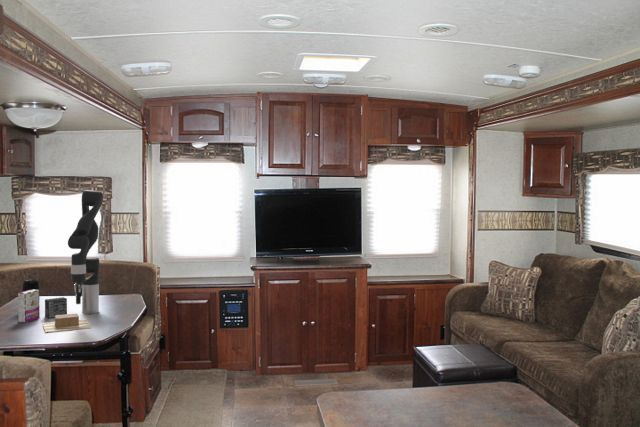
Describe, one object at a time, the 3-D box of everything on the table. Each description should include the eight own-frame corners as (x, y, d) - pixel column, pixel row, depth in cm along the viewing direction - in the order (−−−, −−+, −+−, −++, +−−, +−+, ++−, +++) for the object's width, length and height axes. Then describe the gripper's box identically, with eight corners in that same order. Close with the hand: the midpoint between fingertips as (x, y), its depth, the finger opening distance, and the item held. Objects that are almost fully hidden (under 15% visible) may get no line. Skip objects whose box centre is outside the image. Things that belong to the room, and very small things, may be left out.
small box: (63, 314, 316) (63, 296, 316) (67, 316, 312) (67, 298, 311) (44, 316, 309) (44, 298, 309) (48, 318, 304) (48, 300, 304)
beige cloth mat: (42, 324, 292) (42, 323, 292) (86, 320, 303) (86, 319, 303) (45, 332, 274) (45, 331, 274) (91, 328, 286) (91, 327, 286)
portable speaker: (35, 313, 317) (35, 280, 317) (19, 313, 317) (19, 280, 316) (42, 309, 326) (42, 278, 325) (26, 309, 325) (26, 278, 324)
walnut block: (76, 322, 295) (54, 324, 289) (77, 313, 295) (54, 315, 289) (78, 325, 288) (56, 327, 283) (78, 316, 288) (56, 318, 282)
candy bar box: (32, 317, 307) (32, 289, 306) (39, 318, 306) (39, 289, 305) (17, 322, 296) (17, 292, 295) (25, 322, 295) (25, 293, 294)
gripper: (87, 274, 287) (87, 305, 288) (84, 270, 298) (84, 300, 299) (72, 274, 283) (71, 307, 284) (69, 271, 294) (69, 302, 295)
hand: (78, 303), depth 292 cm, fingers closed
